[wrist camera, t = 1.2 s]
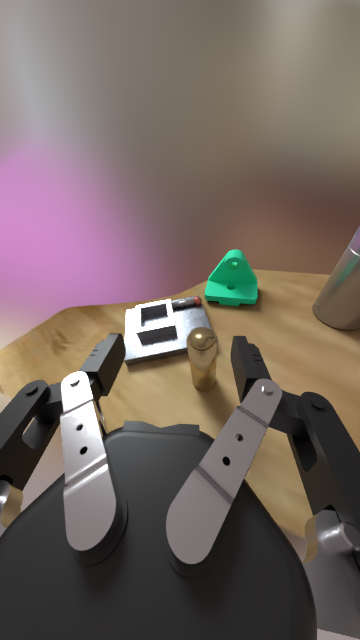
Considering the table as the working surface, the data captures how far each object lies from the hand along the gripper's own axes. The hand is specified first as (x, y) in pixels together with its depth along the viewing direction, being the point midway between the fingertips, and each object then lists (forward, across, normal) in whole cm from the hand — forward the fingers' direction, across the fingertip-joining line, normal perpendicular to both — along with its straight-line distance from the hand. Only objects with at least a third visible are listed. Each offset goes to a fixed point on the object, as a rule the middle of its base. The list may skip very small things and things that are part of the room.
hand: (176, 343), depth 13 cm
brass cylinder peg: (+11, -3, +18) cm, 22 cm away
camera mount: (+33, -10, +12) cm, 37 cm away
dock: (+23, +5, +16) cm, 28 cm away
